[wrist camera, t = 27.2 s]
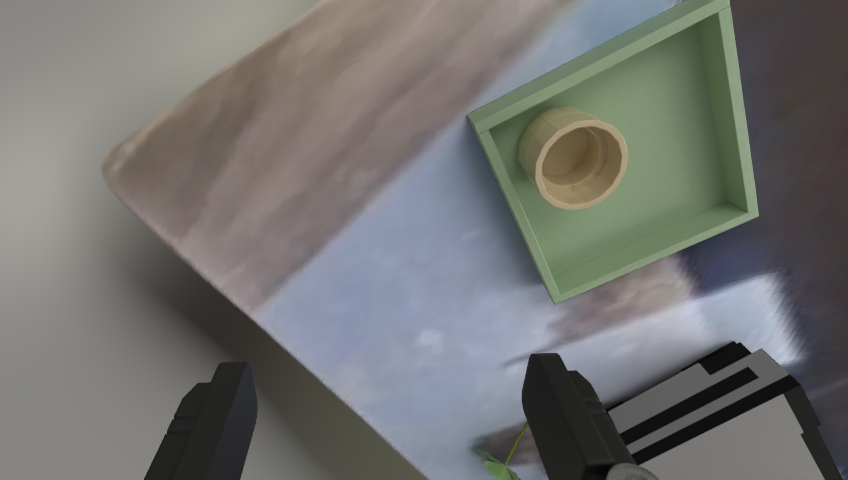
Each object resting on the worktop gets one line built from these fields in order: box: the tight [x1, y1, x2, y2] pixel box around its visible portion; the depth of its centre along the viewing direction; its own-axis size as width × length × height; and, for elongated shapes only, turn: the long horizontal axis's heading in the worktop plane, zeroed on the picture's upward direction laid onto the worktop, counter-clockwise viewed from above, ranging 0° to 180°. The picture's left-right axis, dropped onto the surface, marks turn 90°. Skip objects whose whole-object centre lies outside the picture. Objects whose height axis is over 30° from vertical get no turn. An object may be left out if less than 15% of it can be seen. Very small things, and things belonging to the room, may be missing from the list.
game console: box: [606, 341, 843, 480], centre depth 51 cm, size 21×32×8 cm, turn 38°
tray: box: [467, 0, 759, 304], centre depth 34 cm, size 18×18×3 cm
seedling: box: [476, 422, 529, 480], centre depth 50 cm, size 7×8×6 cm
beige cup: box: [518, 106, 628, 210], centre depth 32 cm, size 6×6×5 cm
